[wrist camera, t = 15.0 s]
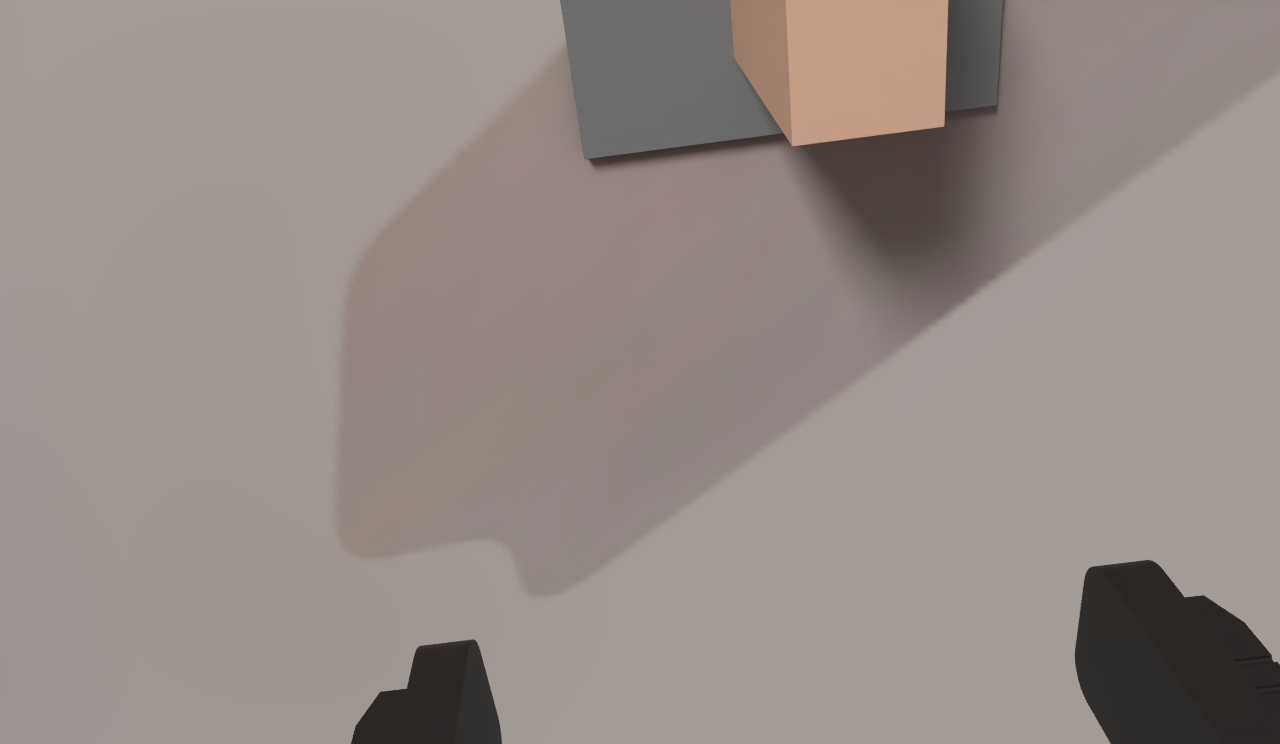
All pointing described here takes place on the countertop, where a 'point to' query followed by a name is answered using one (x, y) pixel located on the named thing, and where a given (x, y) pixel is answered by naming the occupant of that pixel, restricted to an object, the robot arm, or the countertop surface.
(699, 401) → the countertop surface
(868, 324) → the countertop surface
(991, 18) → the mat
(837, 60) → the salmon pink block
